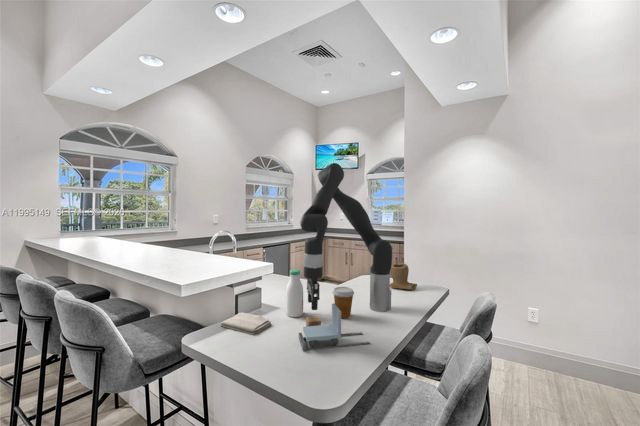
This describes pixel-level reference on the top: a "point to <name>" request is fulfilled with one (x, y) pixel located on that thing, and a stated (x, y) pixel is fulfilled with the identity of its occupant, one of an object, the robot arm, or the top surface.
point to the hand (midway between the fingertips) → (312, 305)
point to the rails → (330, 345)
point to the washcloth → (247, 323)
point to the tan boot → (401, 277)
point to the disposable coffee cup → (343, 300)
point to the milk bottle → (294, 295)
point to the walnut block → (313, 321)
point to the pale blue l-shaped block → (325, 329)
